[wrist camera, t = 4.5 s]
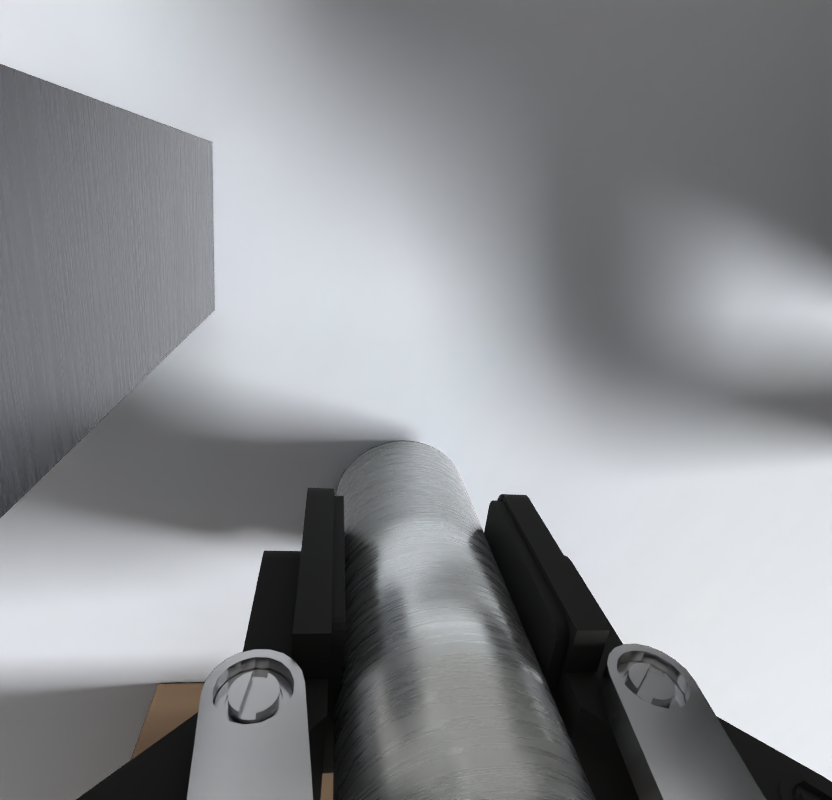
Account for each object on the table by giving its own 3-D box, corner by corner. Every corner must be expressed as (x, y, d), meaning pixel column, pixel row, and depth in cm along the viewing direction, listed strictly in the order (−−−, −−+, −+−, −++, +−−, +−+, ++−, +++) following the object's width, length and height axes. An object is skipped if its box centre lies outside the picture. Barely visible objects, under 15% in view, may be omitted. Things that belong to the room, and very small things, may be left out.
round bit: (340, 437, 13) (344, 1243, 3) (471, 444, 13) (834, 1145, 4) (332, 550, 14) (315, 1403, 4) (453, 552, 14) (692, 1311, 5)
